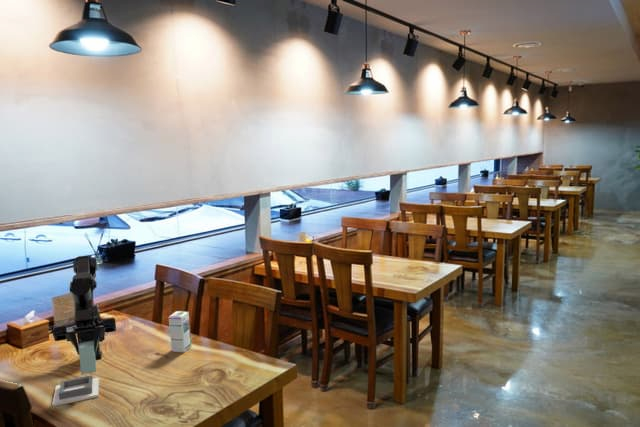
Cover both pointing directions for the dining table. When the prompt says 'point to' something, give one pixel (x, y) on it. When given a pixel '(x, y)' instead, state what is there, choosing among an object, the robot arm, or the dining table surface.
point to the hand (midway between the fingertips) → (86, 353)
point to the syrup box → (180, 331)
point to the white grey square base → (76, 390)
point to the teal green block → (87, 357)
